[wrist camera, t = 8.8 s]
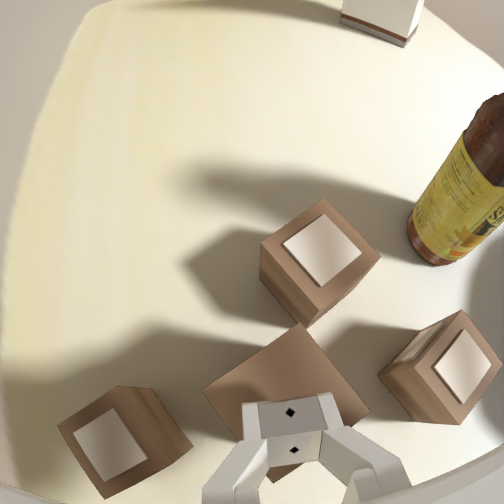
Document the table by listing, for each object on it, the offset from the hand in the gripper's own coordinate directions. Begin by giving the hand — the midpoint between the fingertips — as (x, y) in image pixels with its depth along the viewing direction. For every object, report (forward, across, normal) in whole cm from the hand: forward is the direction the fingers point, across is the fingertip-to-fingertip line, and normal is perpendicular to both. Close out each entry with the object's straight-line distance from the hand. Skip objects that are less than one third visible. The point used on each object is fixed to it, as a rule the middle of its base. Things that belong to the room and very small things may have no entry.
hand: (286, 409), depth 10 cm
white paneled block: (+8, -11, +8) cm, 16 cm away
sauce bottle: (+16, -16, 0) cm, 22 cm away
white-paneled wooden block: (+14, -4, +2) cm, 14 cm away
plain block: (+8, 0, +8) cm, 11 cm away
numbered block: (+6, +9, +9) cm, 14 cm away
